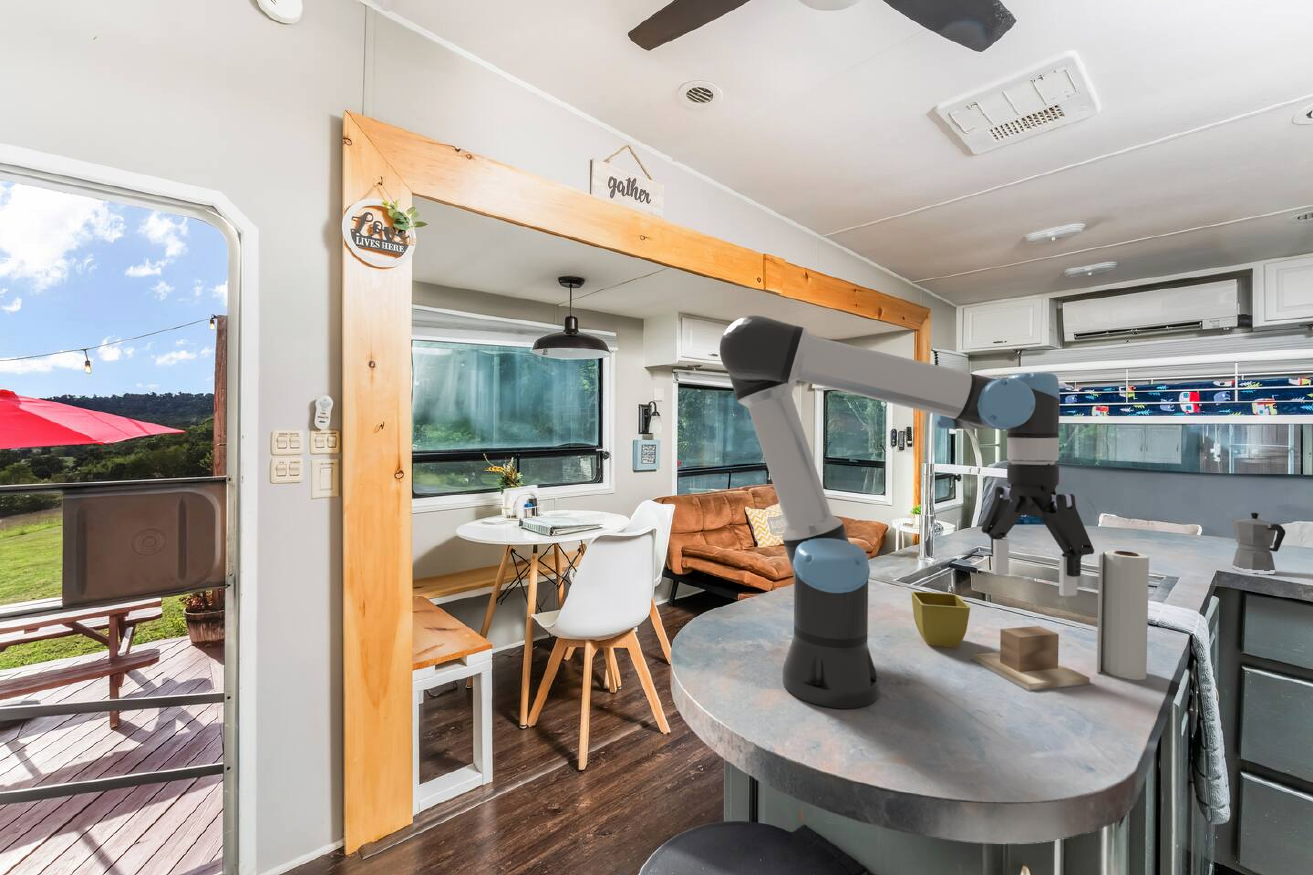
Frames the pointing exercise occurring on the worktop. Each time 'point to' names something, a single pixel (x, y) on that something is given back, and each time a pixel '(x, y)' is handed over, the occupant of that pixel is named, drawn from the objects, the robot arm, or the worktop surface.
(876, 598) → the worktop surface
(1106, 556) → the paper towel roll
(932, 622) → the flower pot
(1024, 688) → the mat
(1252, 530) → the coffeepot
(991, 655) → the lid
